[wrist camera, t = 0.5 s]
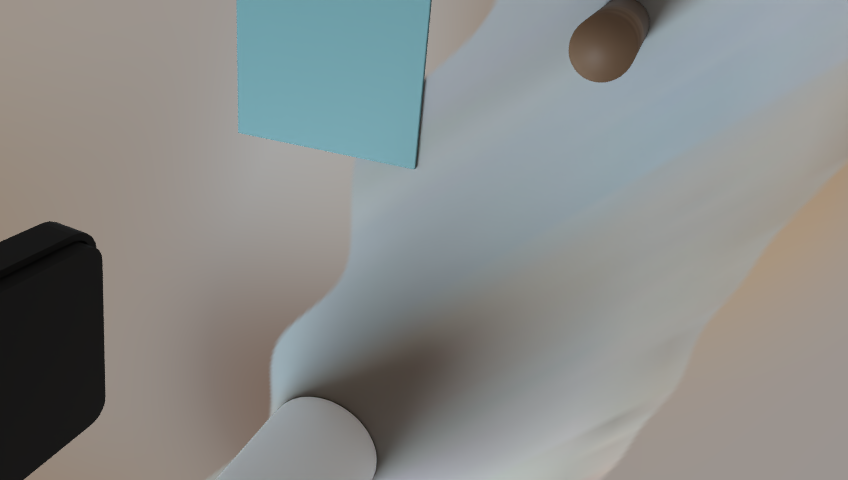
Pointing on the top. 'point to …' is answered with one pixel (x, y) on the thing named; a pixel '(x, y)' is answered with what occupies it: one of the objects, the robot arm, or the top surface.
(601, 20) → the post
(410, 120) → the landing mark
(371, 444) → the bottle
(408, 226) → the top surface
